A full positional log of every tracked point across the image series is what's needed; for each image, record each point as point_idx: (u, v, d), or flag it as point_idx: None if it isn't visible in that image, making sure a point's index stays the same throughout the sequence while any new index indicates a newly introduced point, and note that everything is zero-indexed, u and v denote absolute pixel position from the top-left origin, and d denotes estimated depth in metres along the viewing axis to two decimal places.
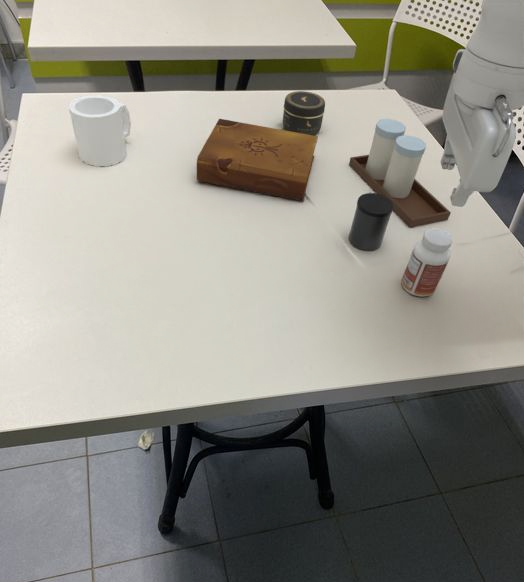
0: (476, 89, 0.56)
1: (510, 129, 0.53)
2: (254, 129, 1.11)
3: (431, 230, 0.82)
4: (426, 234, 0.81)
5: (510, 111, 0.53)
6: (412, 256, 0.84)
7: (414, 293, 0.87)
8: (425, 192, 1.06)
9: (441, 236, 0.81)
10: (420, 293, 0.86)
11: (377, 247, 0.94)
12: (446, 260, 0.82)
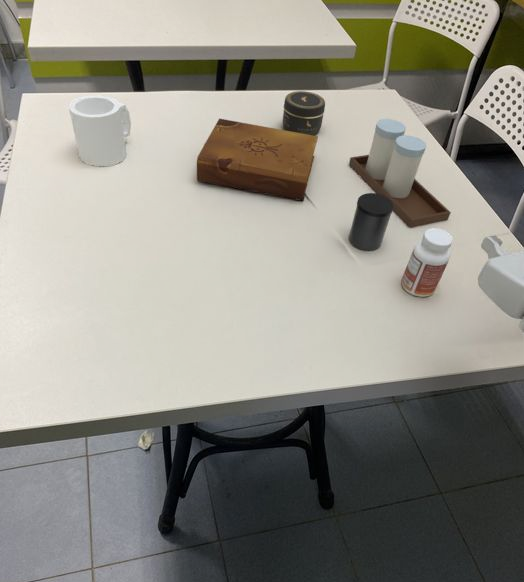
0: None
1: None
2: (254, 129, 1.11)
3: (431, 230, 0.82)
4: (426, 234, 0.81)
5: None
6: (412, 256, 0.84)
7: (414, 293, 0.87)
8: (425, 192, 1.06)
9: (441, 236, 0.81)
10: (420, 293, 0.86)
11: (377, 247, 0.94)
12: (446, 260, 0.82)
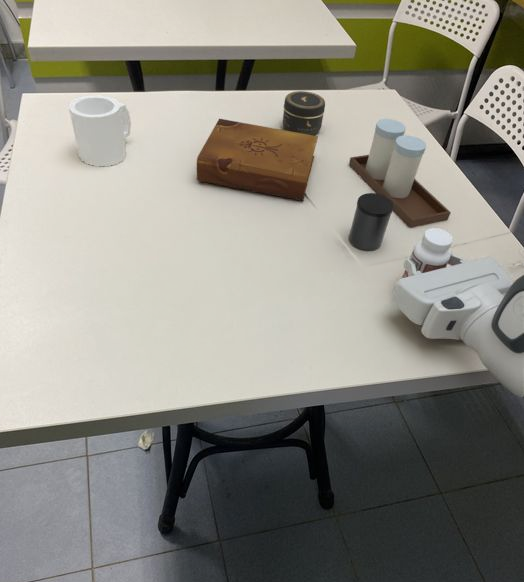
0: None
1: None
2: (254, 129, 1.11)
3: (431, 230, 0.82)
4: (426, 234, 0.81)
5: None
6: (412, 256, 0.84)
7: None
8: (425, 192, 1.06)
9: (441, 236, 0.81)
10: None
11: (377, 247, 0.94)
12: (446, 260, 0.82)
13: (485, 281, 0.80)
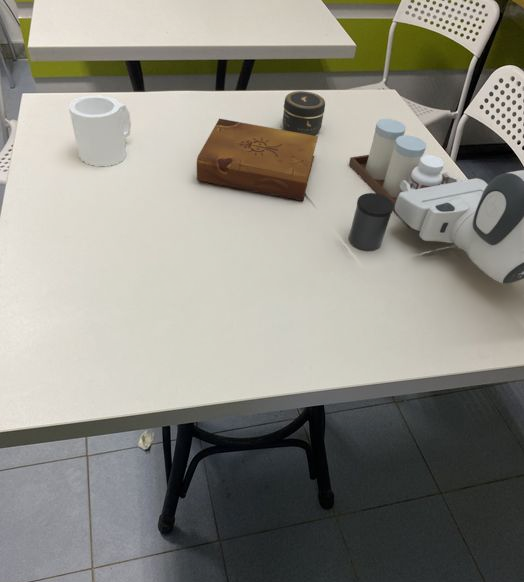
0: None
1: None
2: (254, 129, 1.11)
3: (426, 156, 0.97)
4: (421, 159, 0.96)
5: None
6: (410, 180, 0.99)
7: None
8: None
9: (434, 161, 0.96)
10: None
11: (377, 247, 0.94)
12: (439, 181, 0.97)
13: None
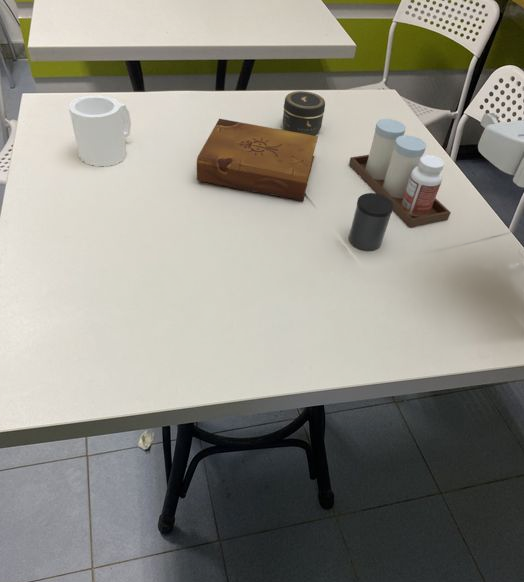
0: None
1: None
2: (254, 129, 1.11)
3: (426, 156, 0.97)
4: (421, 159, 0.96)
5: None
6: (410, 180, 0.99)
7: (412, 214, 1.02)
8: None
9: (434, 161, 0.96)
10: (417, 213, 1.01)
11: (377, 247, 0.94)
12: (438, 181, 0.97)
13: None
